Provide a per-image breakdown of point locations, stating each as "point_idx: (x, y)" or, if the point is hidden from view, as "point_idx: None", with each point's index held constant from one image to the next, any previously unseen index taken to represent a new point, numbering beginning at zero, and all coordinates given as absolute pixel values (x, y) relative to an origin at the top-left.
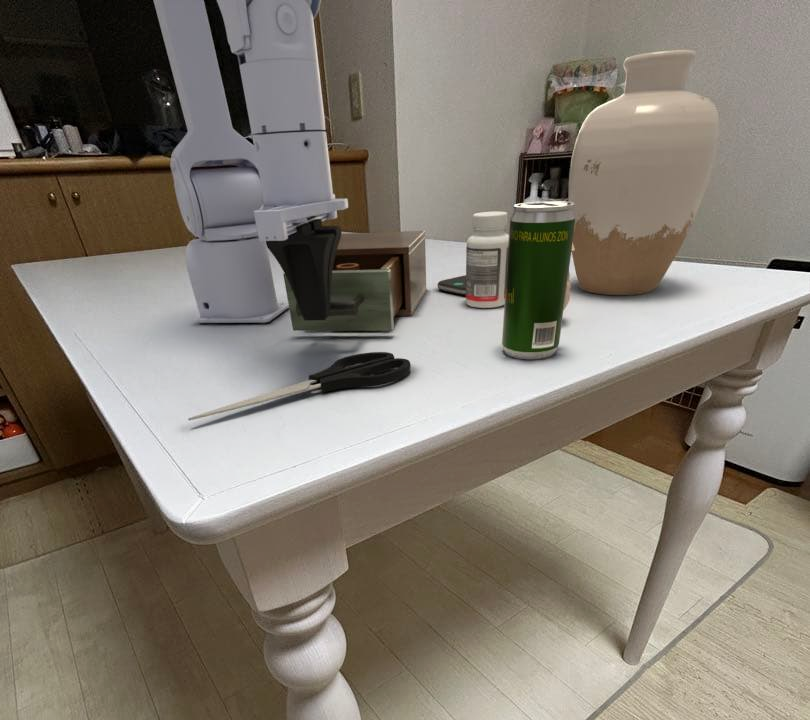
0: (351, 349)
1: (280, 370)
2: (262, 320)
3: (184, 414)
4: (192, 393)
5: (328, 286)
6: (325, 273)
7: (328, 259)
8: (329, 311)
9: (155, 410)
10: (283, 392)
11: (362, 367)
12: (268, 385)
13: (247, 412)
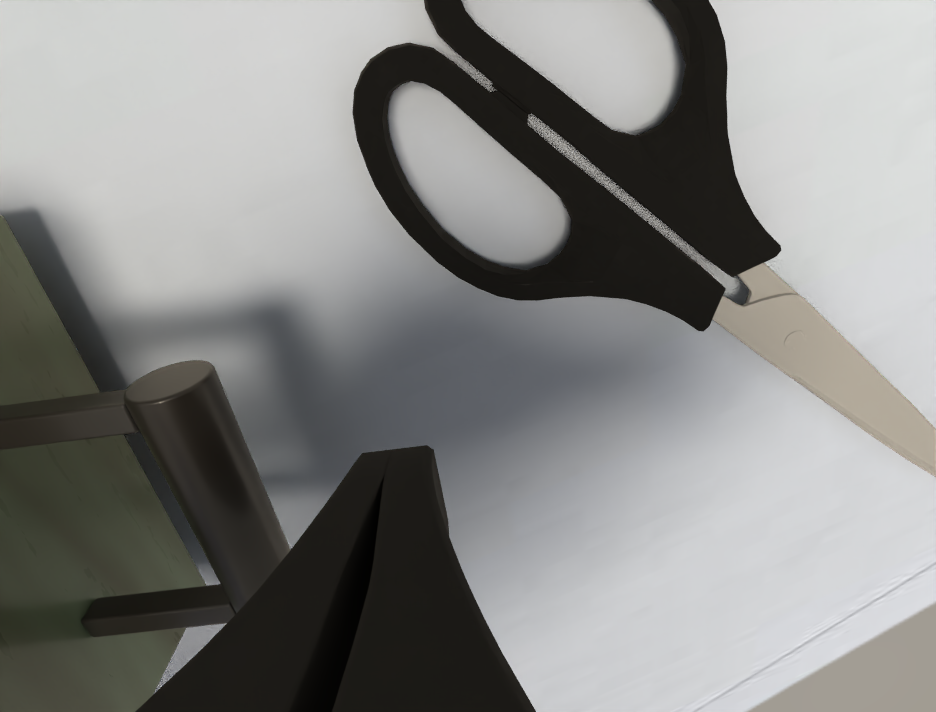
0: (250, 335)
1: (526, 473)
2: None
3: (861, 540)
4: (718, 589)
5: (352, 546)
6: (422, 613)
7: (357, 703)
8: (260, 486)
9: (824, 603)
10: (834, 353)
11: (595, 148)
12: (661, 448)
13: None
